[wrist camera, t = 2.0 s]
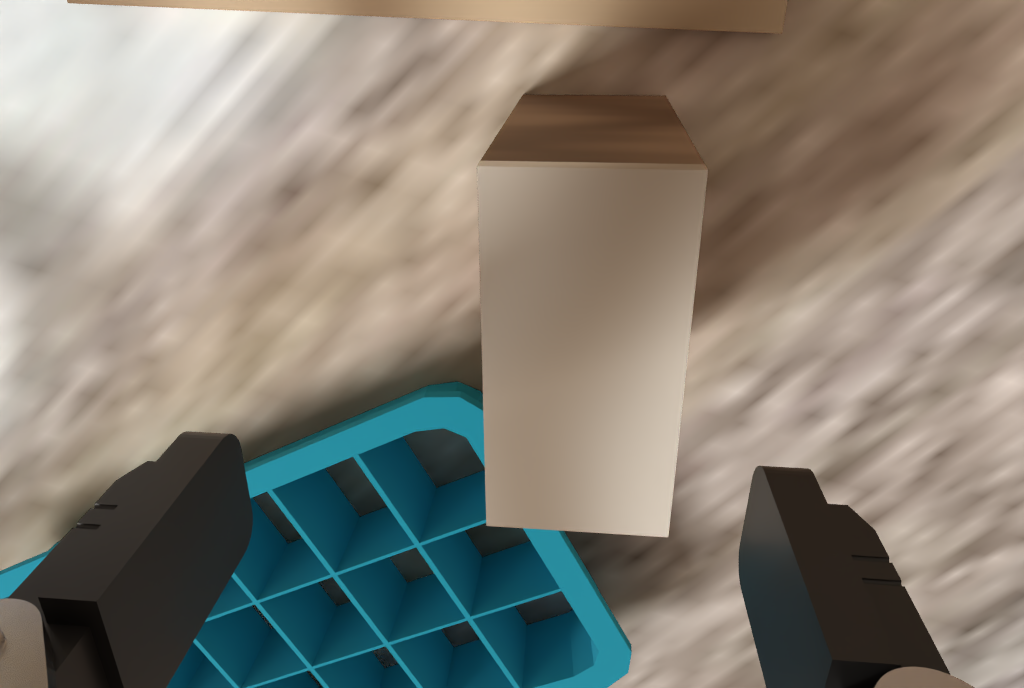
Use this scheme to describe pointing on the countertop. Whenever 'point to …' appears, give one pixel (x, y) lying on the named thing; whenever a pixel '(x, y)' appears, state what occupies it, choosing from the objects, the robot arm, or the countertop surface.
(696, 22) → the wooden board
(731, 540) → the countertop surface
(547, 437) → the brown wooden block
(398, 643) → the ice cube tray
